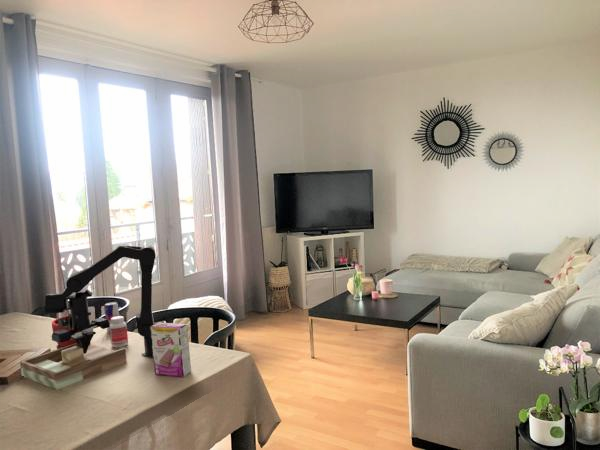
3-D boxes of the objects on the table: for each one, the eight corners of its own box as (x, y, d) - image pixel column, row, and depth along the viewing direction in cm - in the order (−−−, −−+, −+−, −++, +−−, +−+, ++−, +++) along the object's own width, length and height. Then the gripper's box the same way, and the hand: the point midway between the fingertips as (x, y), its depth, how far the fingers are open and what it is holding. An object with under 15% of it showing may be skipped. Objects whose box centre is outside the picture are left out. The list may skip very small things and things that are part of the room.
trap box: (126, 362, 175) (125, 348, 174) (57, 389, 155) (55, 374, 154) (89, 351, 188) (88, 338, 188) (21, 375, 168) (20, 361, 168)
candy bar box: (153, 375, 161) (149, 326, 159) (162, 369, 166) (158, 321, 164) (183, 378, 158) (179, 328, 156) (192, 371, 162) (187, 323, 160)
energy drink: (108, 333, 209) (105, 306, 208) (106, 330, 214) (103, 303, 213) (121, 331, 212) (118, 303, 210) (119, 328, 216) (116, 301, 215)
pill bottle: (131, 344, 193) (128, 316, 192) (115, 349, 189) (112, 320, 188) (124, 341, 198) (121, 314, 197) (109, 345, 194) (106, 318, 193)
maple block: (84, 359, 171) (82, 348, 171) (70, 364, 167) (68, 353, 167) (76, 357, 174) (74, 346, 174) (62, 362, 170) (61, 350, 170)
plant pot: (47, 353, 189) (43, 322, 188) (74, 341, 201) (71, 312, 200) (73, 356, 184) (69, 324, 183) (99, 344, 196) (96, 314, 195)
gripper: (91, 300, 185) (95, 341, 186) (40, 314, 170) (46, 358, 171) (108, 304, 178) (113, 346, 180) (57, 318, 163) (63, 364, 165)
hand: (84, 353), depth 174 cm, fingers closed
